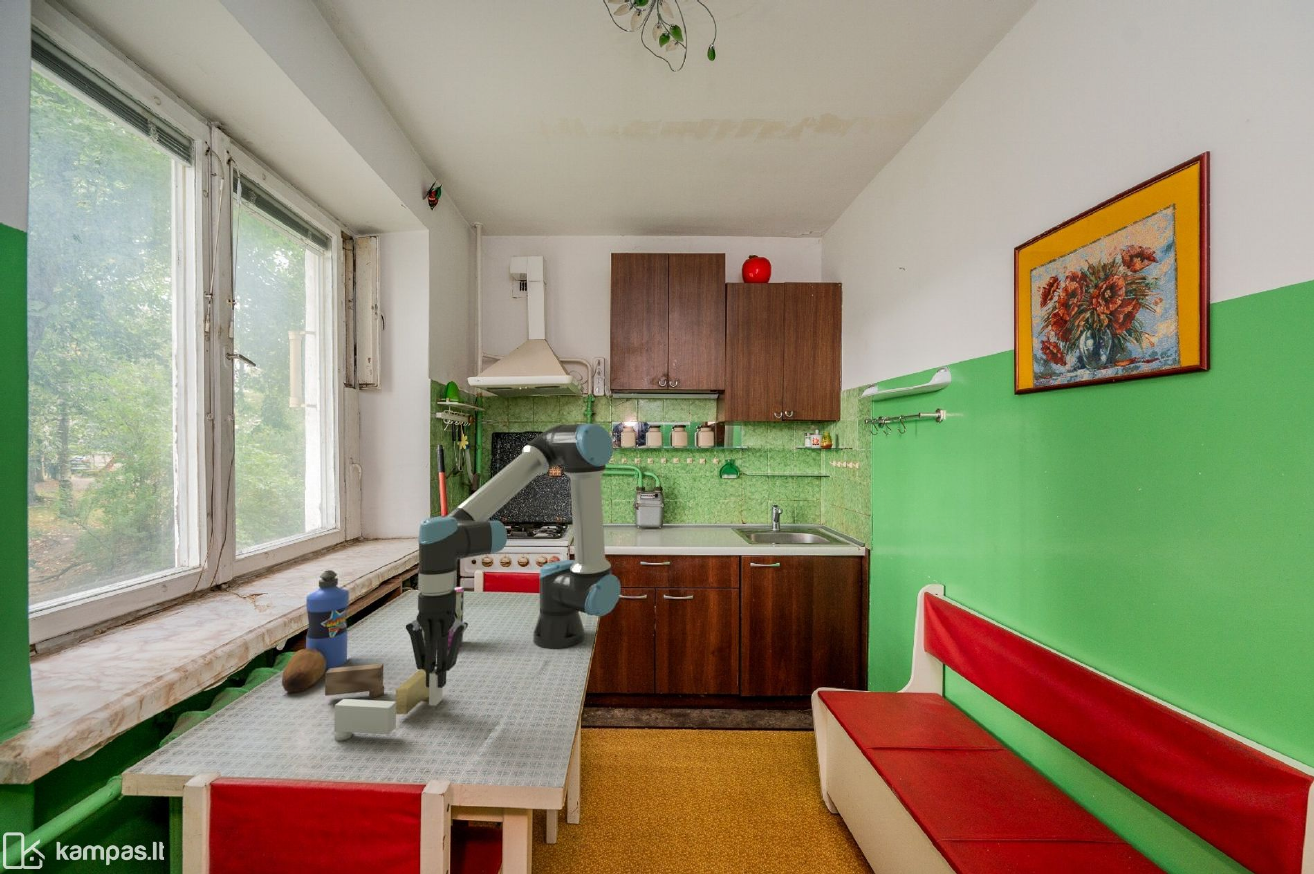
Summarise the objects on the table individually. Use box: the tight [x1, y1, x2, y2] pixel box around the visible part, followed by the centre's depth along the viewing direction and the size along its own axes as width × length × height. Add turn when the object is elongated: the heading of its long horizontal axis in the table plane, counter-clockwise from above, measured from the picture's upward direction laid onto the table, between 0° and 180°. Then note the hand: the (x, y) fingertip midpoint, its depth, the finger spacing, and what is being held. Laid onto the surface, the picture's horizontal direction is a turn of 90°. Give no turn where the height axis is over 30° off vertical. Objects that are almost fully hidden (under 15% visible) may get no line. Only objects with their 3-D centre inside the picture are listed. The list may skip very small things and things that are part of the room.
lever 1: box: [324, 662, 385, 699], centre depth 113 cm, size 12×3×7 cm, turn 104°
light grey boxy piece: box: [333, 698, 397, 742], centre depth 97 cm, size 12×3×7 cm, turn 85°
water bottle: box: [305, 570, 350, 675], centre depth 131 cm, size 9×9×25 cm
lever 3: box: [394, 669, 429, 715], centre depth 109 cm, size 12×3×7 cm, turn 175°
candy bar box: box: [421, 586, 465, 650], centre depth 145 cm, size 11×5×16 cm, turn 108°
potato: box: [281, 647, 326, 694], centre depth 120 cm, size 8×13×8 cm
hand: (435, 701), depth 107 cm, fingers closed
